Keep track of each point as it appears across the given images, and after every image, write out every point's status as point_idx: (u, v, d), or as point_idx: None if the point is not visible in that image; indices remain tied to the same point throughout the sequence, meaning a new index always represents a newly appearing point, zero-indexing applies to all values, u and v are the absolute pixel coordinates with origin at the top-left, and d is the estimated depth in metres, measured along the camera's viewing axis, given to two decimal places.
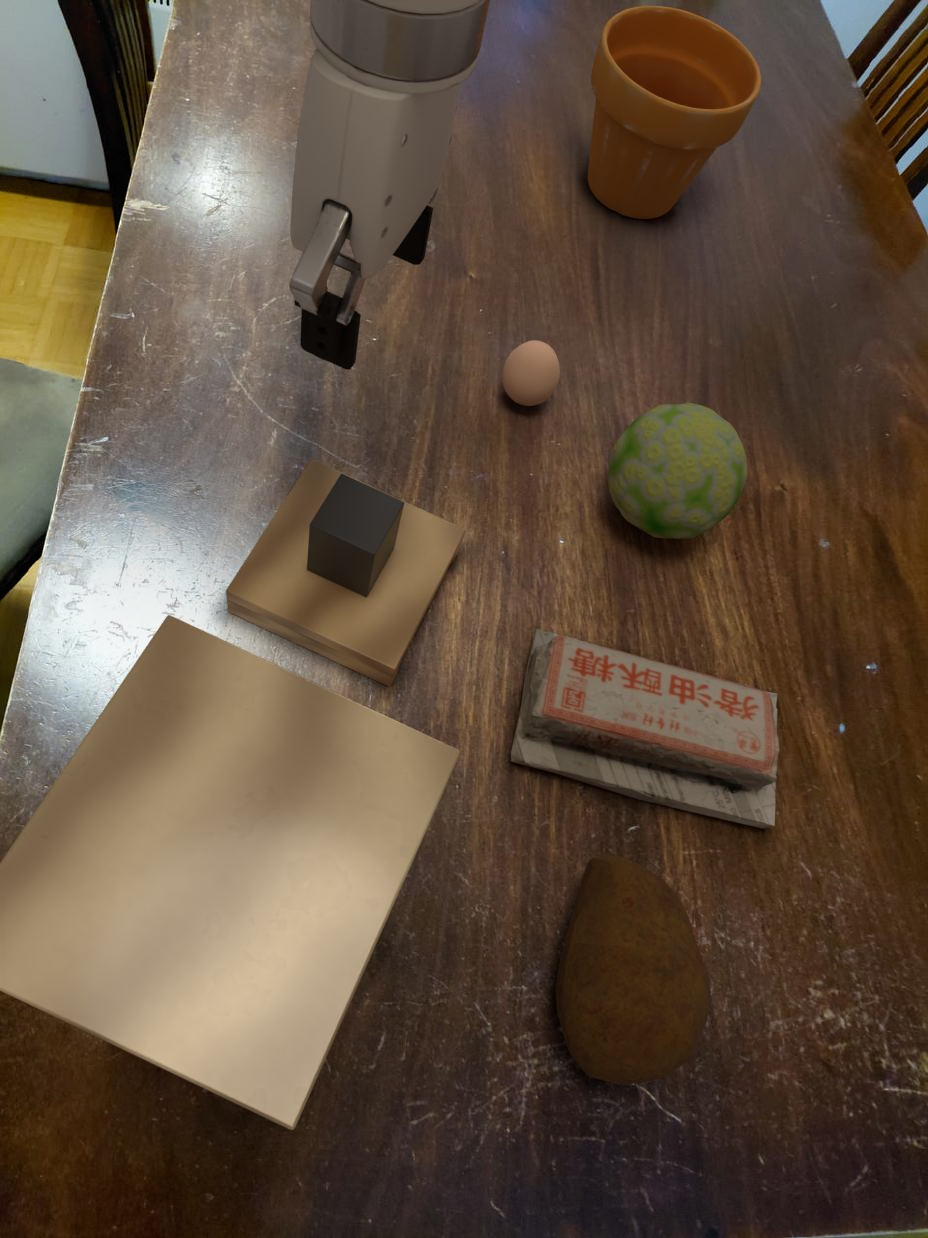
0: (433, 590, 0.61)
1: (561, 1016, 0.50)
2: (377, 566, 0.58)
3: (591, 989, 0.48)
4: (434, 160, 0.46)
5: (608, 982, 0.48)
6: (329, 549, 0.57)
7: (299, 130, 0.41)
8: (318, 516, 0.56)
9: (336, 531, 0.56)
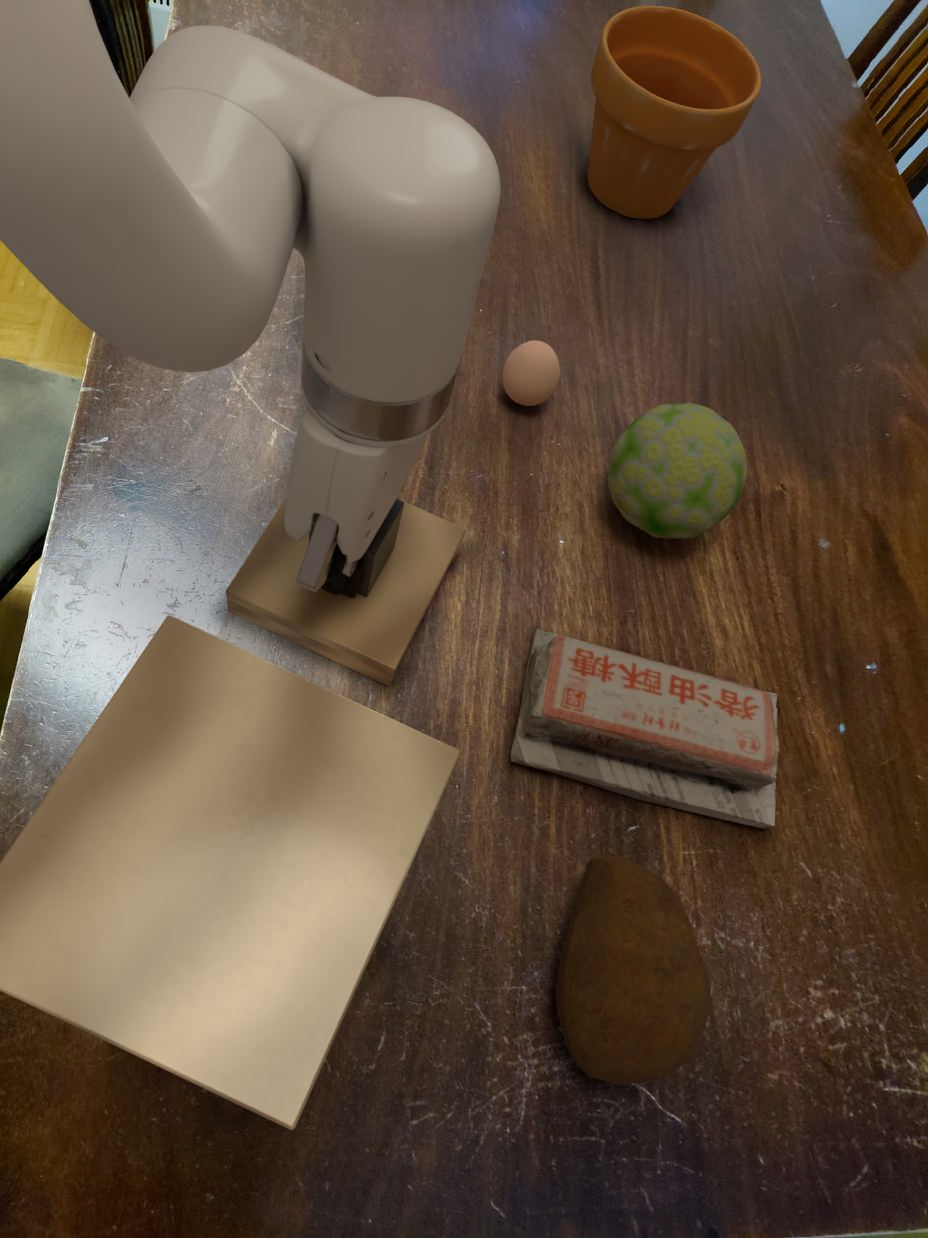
0: (433, 590, 0.61)
1: (561, 1016, 0.50)
2: (377, 566, 0.58)
3: (591, 989, 0.48)
4: (413, 460, 0.52)
5: (608, 982, 0.48)
6: None
7: (291, 465, 0.47)
8: None
9: None
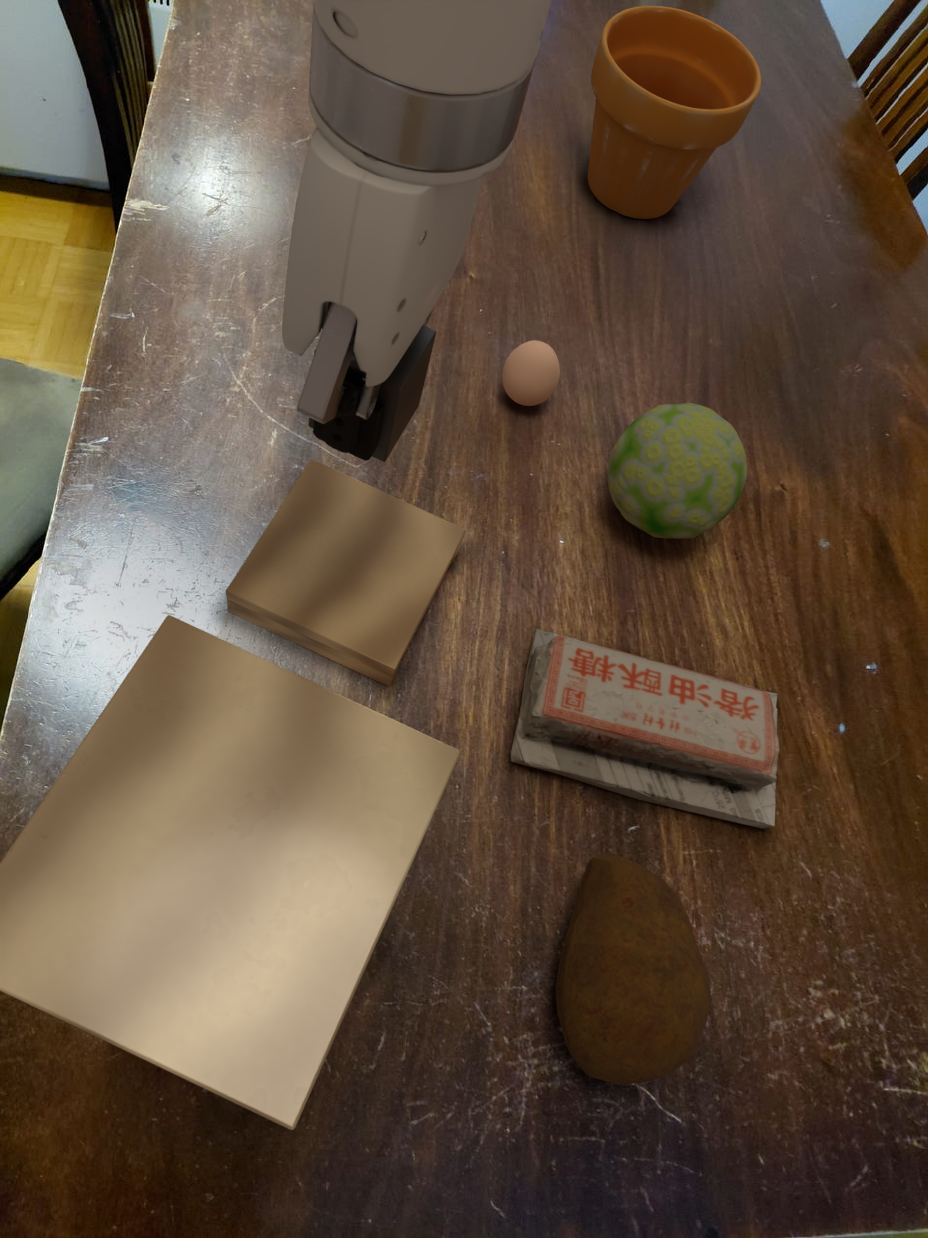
0: (433, 590, 0.61)
1: (561, 1016, 0.50)
2: (400, 417, 0.45)
3: (591, 989, 0.48)
4: (455, 248, 0.38)
5: (608, 982, 0.48)
6: None
7: (294, 223, 0.34)
8: None
9: None
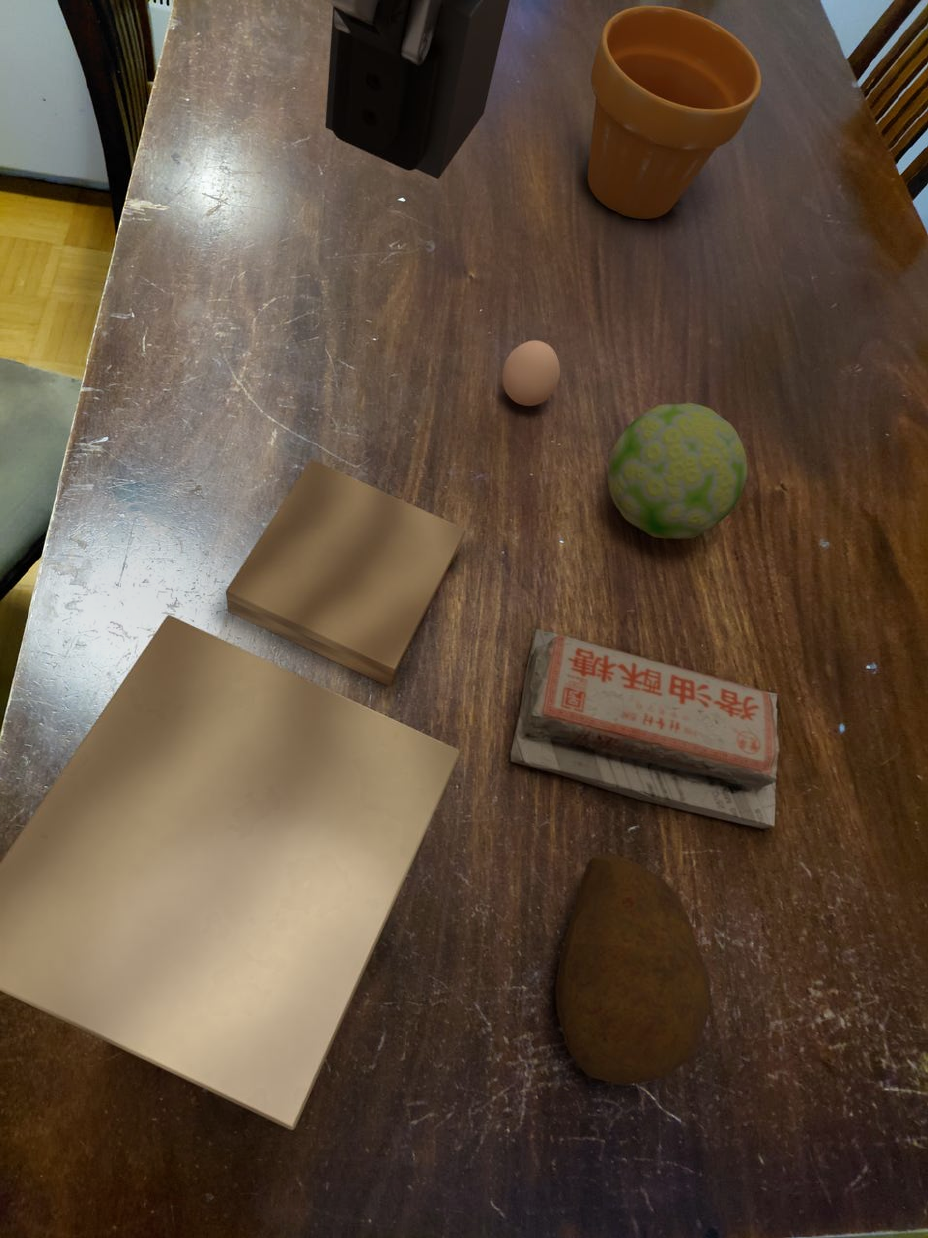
0: (433, 590, 0.61)
1: (561, 1016, 0.50)
2: (463, 95, 0.30)
3: (591, 989, 0.48)
4: None
5: (608, 982, 0.48)
6: None
7: None
8: None
9: None
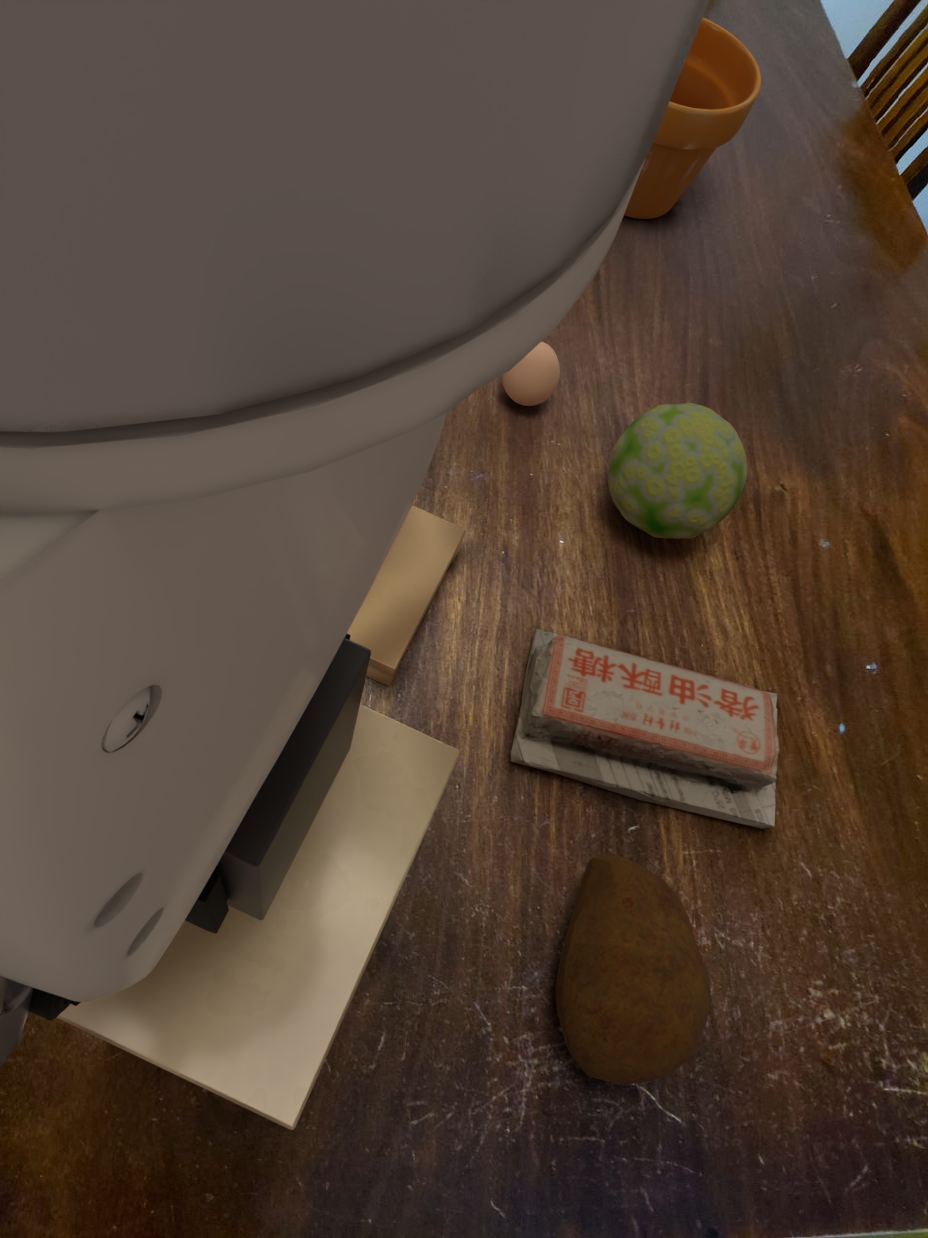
0: (433, 590, 0.61)
1: (561, 1016, 0.50)
2: (287, 850, 0.18)
3: (591, 989, 0.48)
4: (386, 531, 0.11)
5: (608, 982, 0.48)
6: None
7: None
8: None
9: None
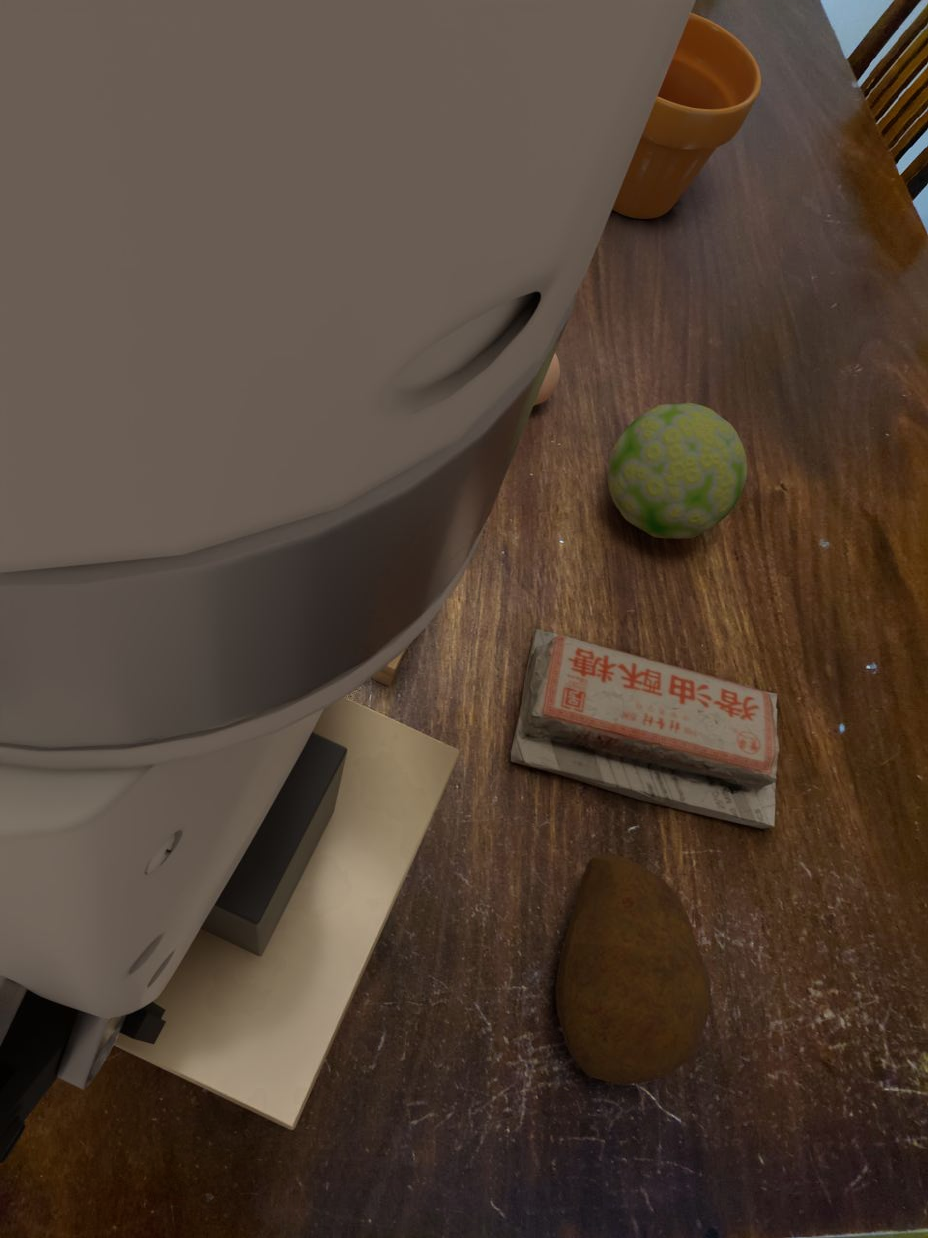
0: None
1: (561, 1016, 0.50)
2: (280, 902, 0.23)
3: (591, 989, 0.48)
4: None
5: (608, 982, 0.48)
6: None
7: None
8: None
9: None
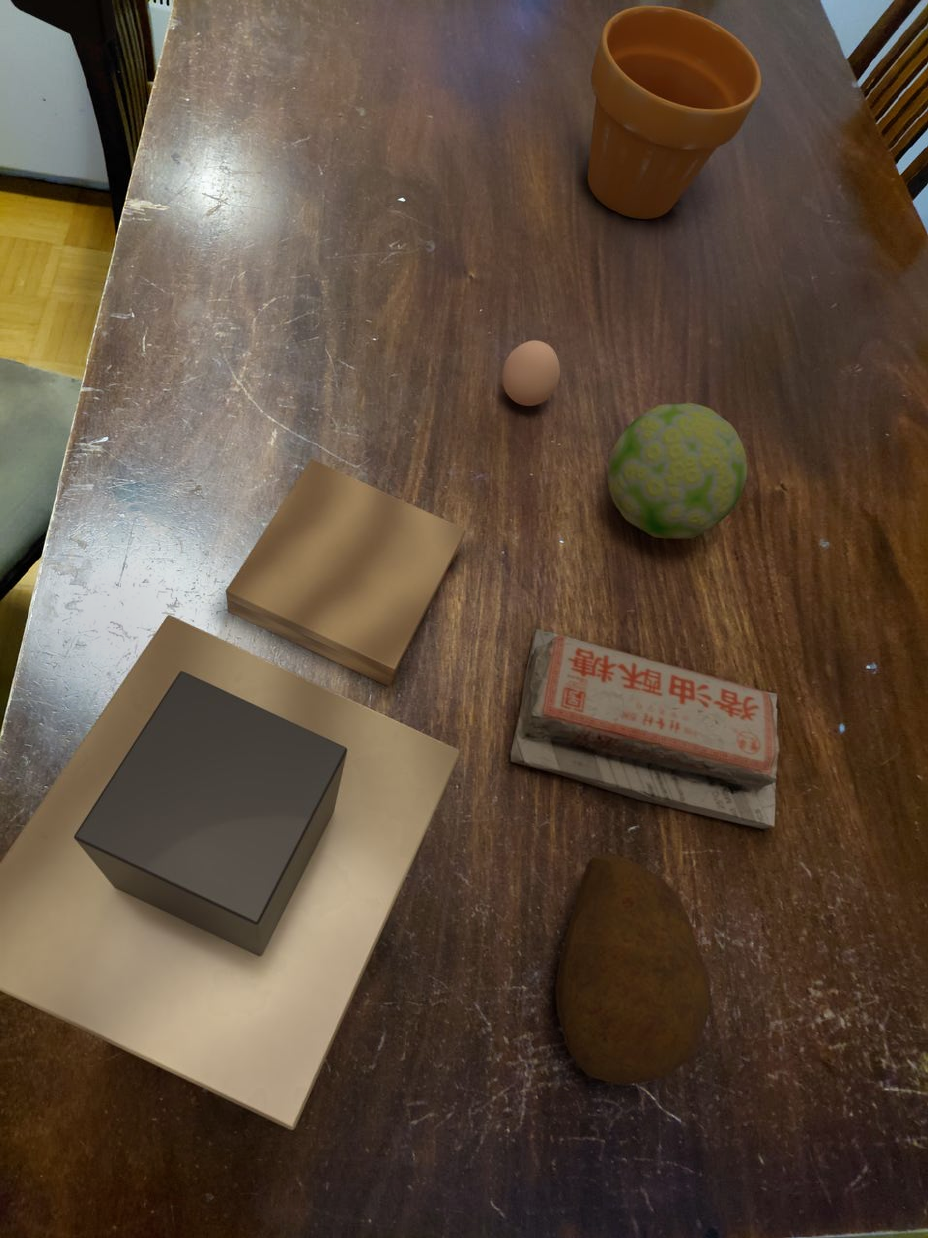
0: (433, 590, 0.61)
1: (561, 1016, 0.50)
2: (280, 902, 0.23)
3: (591, 989, 0.48)
4: None
5: (608, 982, 0.48)
6: (144, 882, 0.21)
7: None
8: (102, 809, 0.20)
9: (152, 854, 0.20)
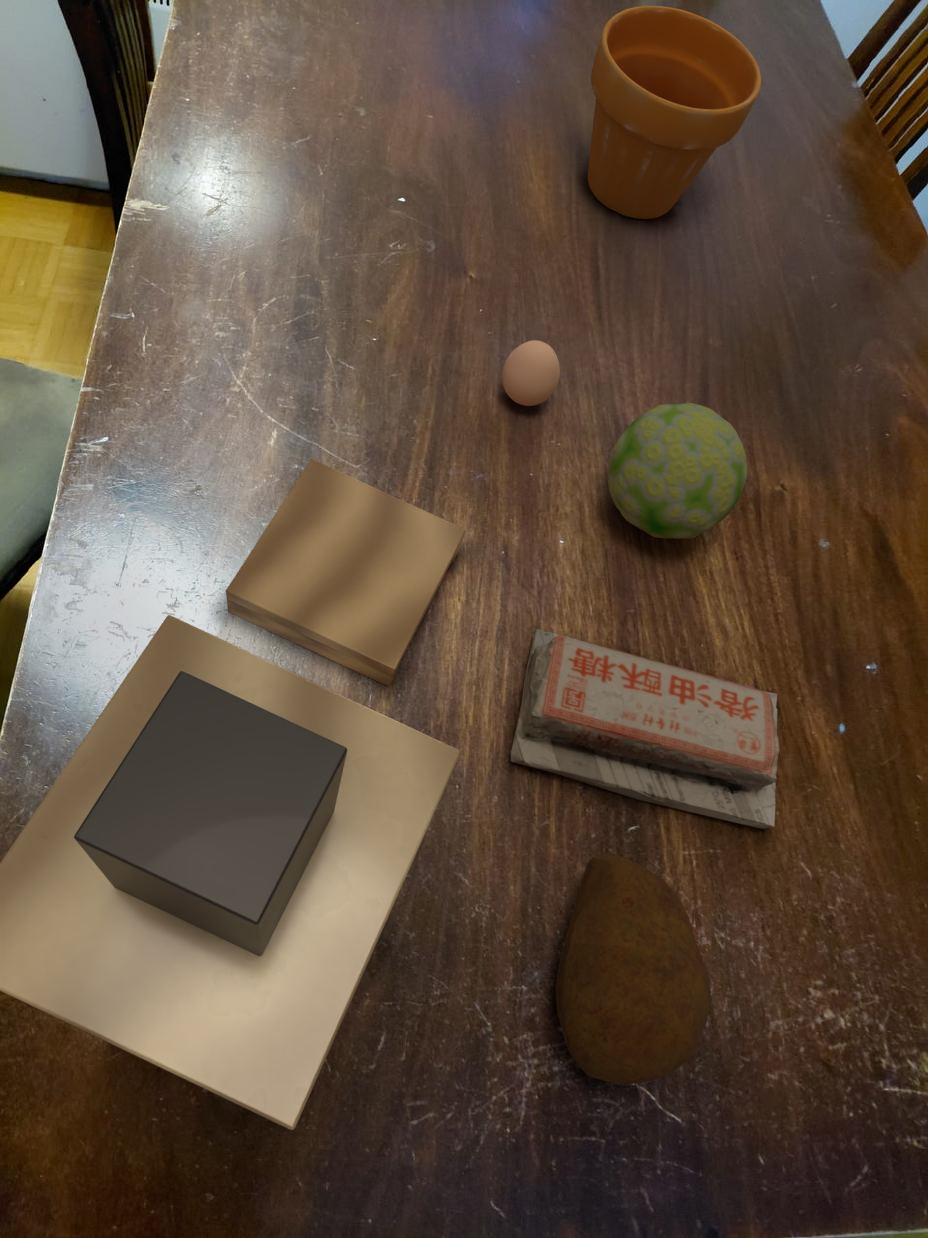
0: (433, 590, 0.61)
1: (561, 1016, 0.50)
2: (280, 902, 0.23)
3: (591, 989, 0.48)
4: None
5: (608, 982, 0.48)
6: (144, 882, 0.21)
7: None
8: (102, 809, 0.20)
9: (152, 854, 0.20)
